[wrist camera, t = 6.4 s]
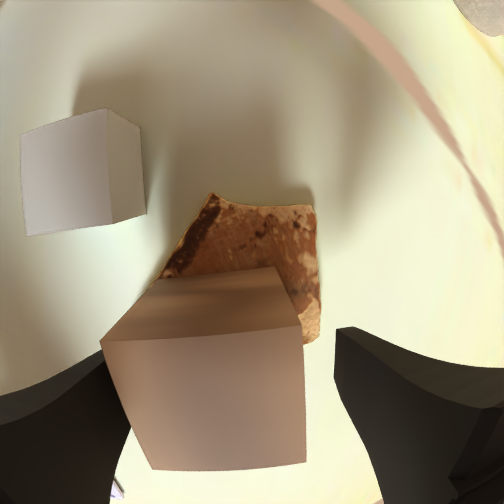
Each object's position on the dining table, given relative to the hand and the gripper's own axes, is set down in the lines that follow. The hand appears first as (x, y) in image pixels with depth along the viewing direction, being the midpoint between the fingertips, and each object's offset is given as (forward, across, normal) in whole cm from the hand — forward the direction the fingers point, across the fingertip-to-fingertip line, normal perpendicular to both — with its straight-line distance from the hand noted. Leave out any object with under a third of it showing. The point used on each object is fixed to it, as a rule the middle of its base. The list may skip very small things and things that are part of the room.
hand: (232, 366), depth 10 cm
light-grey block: (+5, +6, -7) cm, 10 cm away
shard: (+6, 0, 0) cm, 6 cm away
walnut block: (+3, 0, 0) cm, 4 cm away
